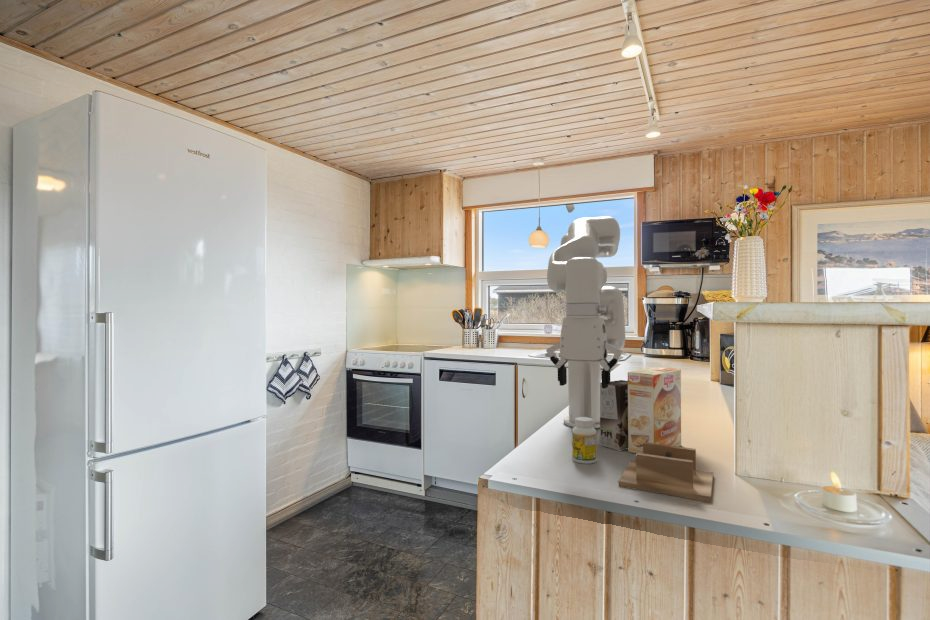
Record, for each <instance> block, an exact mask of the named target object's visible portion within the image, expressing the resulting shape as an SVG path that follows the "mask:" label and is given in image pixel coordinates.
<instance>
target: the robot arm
mask: <svg viewBox="0 0 930 620" xmlns="http://www.w3.org/2000/svg"><path fill="white" fill-rule="evenodd" d="M620 239H621V228H620V225H619V222H618V220H617V219H616V218H614V217H612V216H595V217H581V218H578V219H575V220H574V221H573V222H571V223H570V224H569V226H568V230H567V233H566V234H564V235H563V236H562V237H561V240H560V246H559V247H558V248H556V249H555V250H554V251H553V252H552V253H551V255H550V256H549V260H548V263H547V264H548V266H547V273H546V281H547V285H548V287H549V288H550V290H551V291H553V292H555V293H565V317H563V318H562V323H561V331H560V338H559V339H560V340H559V342H558V343H555V344H554V345H552V346H550V347H548V348H547V349H546V350H545V351H546V353H547V354H548V357H549V359H550V361H551V362H552V364H553V365H554V366H555V367H556V368H557V381H558V382H559V386H561V387H562V386H565V385H566V384H567V381H568V416H565V417H564V418H563V423H564V424H565V425H566V426H568V427H571V428H574V427H576V425H575V418H577V417H588V418H592V419H593V426H592V427H593V428H594V429H600V383H602V388H604V389H605V388H607V387H608V385H610V382H611V370H612V369H613V367H614V366H616V365H617V364H618V362H619V360H620V359H621V357H622V355H623V348H624V347H625V345H626V323H625V322H626V321H625V319H626V318H625V305H624V298H623V297H624V296H623V293H622V291H621V289H620V288H618V287H616V286H605V285H606V283H607V279H608V272H607V269H606V267H605V266H604V265H603V263H602V262H601V261H598V259H597V258H611V257H613V256H615V255H616V254H617V252H618V250H619V245H620ZM604 318H606V319H604ZM557 350H559V355H560V356H559V357H560V358H559V357H558V356H557V355H556V351H557ZM608 352H611V353H613V357H612V359H611V360H608V359H607V358H608V356H609V355H608V354H609V353H608ZM566 365H567V367H566ZM601 367H602V368H601ZM601 369H602V370H601ZM567 376H568V377H567ZM567 378H568V379H567Z"/></svg>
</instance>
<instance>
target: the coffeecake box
mask: <svg viewBox="0 0 930 620" xmlns="http://www.w3.org/2000/svg"><path fill="white" fill-rule="evenodd" d="M681 376H682V369H681V368H672V367H663V366H661V367H659V366H654V367H649V368H645V369H644V368H643V369H638V370H633V371H628V372H627V381H628V449H627V452H629V453H632V454H633V453H634V454H635V455H636V454H637V453H642V454H643V443H644V442H646V443H653V444H661V445H669V446H677V447H682V383H681V382H682V381H681V380H682V377H681Z"/></svg>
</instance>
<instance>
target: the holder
mask: <svg viewBox="0 0 930 620" xmlns="http://www.w3.org/2000/svg"><path fill="white" fill-rule="evenodd" d="M696 458H697V451H696V448H692V447H684V446H683V447H682V446H679V447H677V446H669V445H661V444H653V443H646V442H644V443H643V454H642V453H637V454H636V453H635V460H634V459H633V460H630V462H629V463H628V465H627V467H626V468H625V469H624V471H623V473H622V474H621V476H620V477H619V479H618V480H617V481H618V482H617V486H618V487H623V488H627V489H634V490H638V491H643V492H650V493H657V494H662V495H667V496H672V497H678V498H679V497H680V498H685V499H690V500H695V501H696V500H697V501H701V502H706V503H712V493H713V492H712V491H713V483H714V472H713V471H709V470H708V471H706V470H701V469H697V459H696Z"/></svg>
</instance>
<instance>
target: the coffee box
mask: <svg viewBox="0 0 930 620" xmlns="http://www.w3.org/2000/svg"><path fill="white" fill-rule="evenodd" d="M599 437H600V438H599V445H600V446H603V447H606V448H609V449H612V450H615V451H619V452H620V451H621V452H622V451H624V450H628V380H623V379H619V380H613V381H611V380H610V385H608V387H607V388H605V389H604V388H602V382H601V383H600V428H599Z"/></svg>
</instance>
